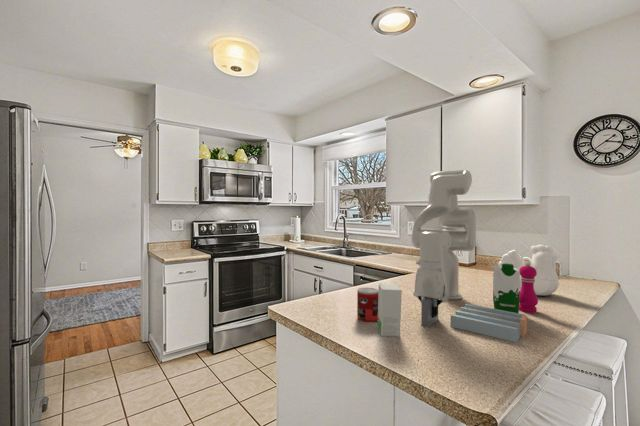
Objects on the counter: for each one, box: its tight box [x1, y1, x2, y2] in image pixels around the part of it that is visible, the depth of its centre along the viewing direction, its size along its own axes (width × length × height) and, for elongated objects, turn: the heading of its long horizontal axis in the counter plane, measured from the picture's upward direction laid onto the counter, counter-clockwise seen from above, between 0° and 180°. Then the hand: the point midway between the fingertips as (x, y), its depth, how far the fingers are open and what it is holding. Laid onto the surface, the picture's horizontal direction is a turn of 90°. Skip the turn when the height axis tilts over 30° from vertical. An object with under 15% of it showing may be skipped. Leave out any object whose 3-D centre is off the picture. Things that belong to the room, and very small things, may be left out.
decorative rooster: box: [497, 244, 560, 296], centre depth 156 cm, size 25×16×25 cm, turn 35°
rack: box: [450, 303, 528, 343], centre depth 110 cm, size 21×18×6 cm
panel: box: [420, 298, 439, 328], centre depth 114 cm, size 10×2×9 cm, turn 139°
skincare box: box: [377, 282, 403, 338], centre depth 105 cm, size 8×7×16 cm
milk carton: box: [492, 264, 520, 314], centre depth 124 cm, size 9×9×20 cm
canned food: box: [356, 287, 379, 323], centre depth 117 cm, size 8×8×11 cm
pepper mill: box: [519, 261, 539, 314], centre depth 128 cm, size 7×7×20 cm
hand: (430, 315), depth 114 cm, fingers closed on panel, 2 cm apart
